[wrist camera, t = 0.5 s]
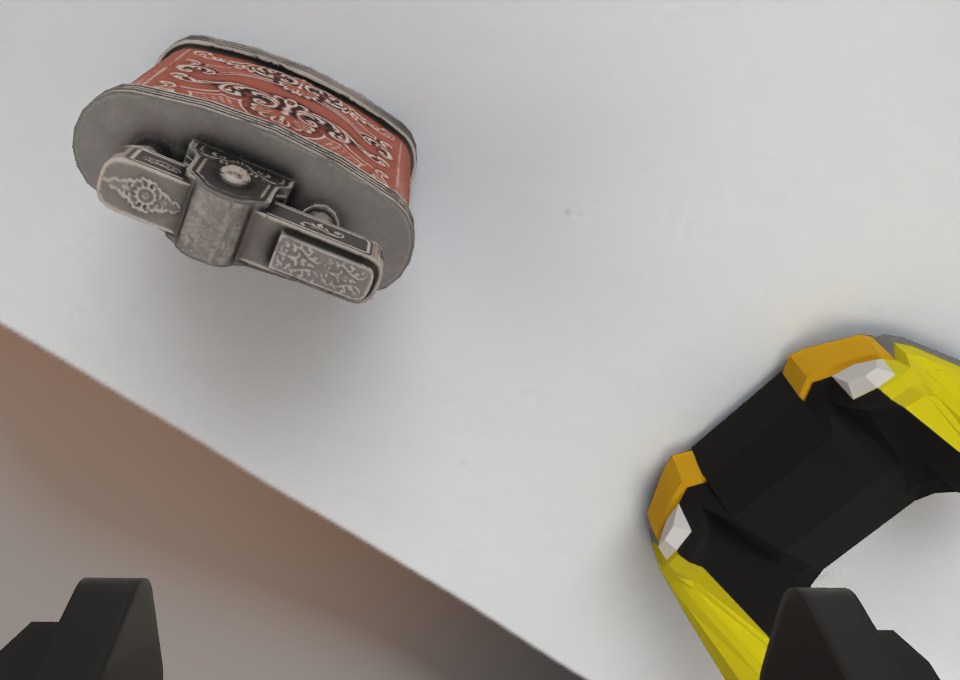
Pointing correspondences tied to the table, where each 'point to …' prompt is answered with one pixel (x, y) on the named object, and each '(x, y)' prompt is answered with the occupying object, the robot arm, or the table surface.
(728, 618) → the gaming controller
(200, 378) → the table surface
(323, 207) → the lighter
